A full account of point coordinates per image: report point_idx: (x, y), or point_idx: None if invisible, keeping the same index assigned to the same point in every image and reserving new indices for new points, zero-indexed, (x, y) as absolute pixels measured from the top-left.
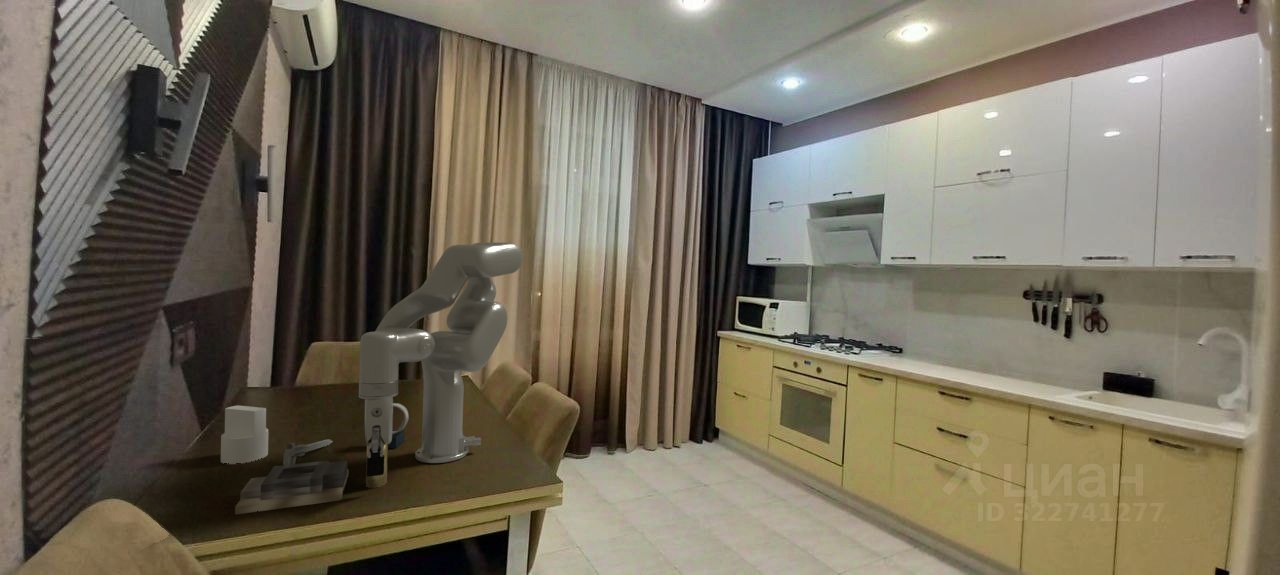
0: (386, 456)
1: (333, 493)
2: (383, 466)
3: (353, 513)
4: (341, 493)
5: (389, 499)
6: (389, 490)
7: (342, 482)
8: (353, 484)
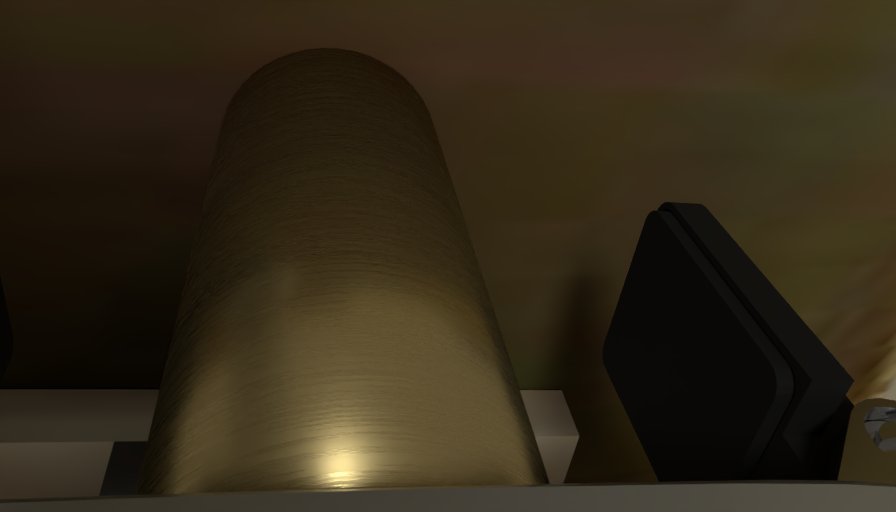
0: (426, 256)
1: (556, 473)
2: (748, 268)
3: (857, 302)
4: (535, 419)
5: (808, 47)
6: (578, 32)
7: None
8: None
